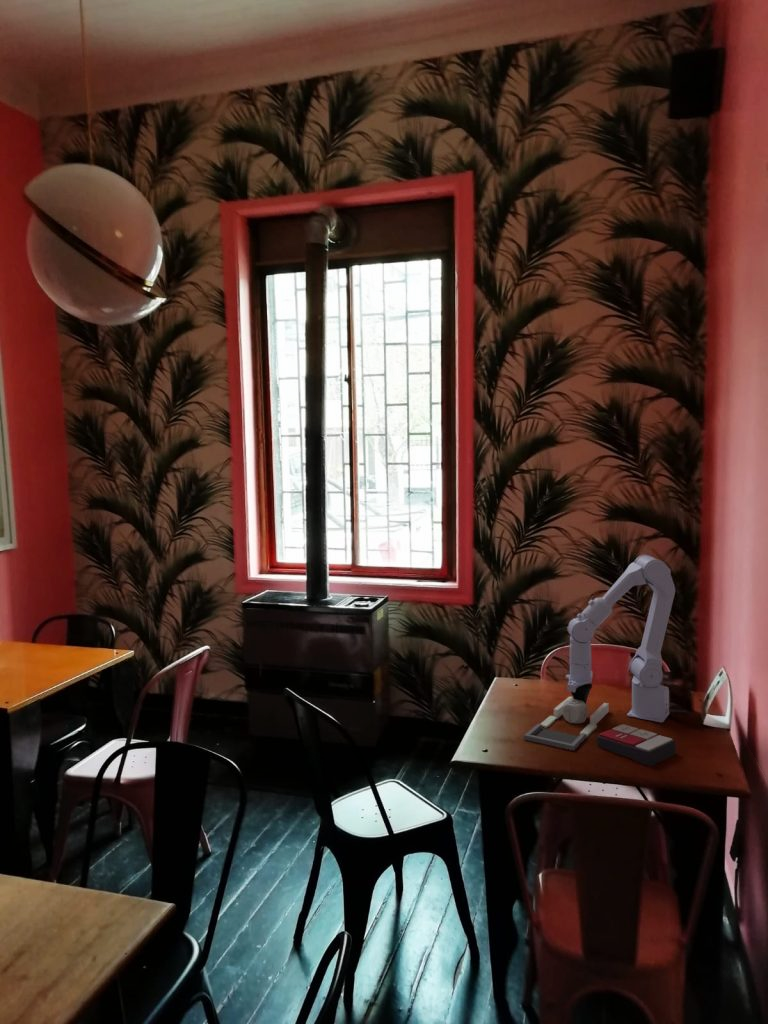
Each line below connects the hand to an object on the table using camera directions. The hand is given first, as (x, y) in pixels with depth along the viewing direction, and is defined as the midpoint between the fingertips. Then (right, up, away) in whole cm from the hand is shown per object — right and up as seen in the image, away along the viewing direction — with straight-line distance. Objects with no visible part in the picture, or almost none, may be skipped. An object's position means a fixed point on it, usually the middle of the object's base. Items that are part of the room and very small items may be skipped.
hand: (580, 709), depth 197 cm
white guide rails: (0, -2, +1) cm, 2 cm away
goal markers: (-5, -2, -8) cm, 10 cm away
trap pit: (-10, -3, -15) cm, 18 cm away
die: (-2, -2, -3) cm, 4 cm away
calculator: (+7, -4, -23) cm, 24 cm away
